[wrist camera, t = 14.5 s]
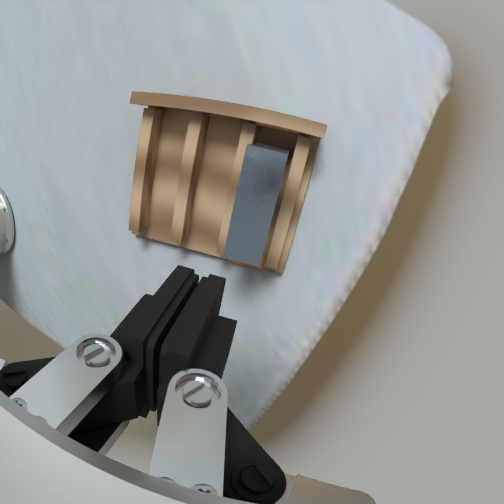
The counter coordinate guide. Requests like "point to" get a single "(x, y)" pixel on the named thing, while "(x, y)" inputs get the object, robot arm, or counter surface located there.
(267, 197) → the block
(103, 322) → the counter surface
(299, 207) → the rack
